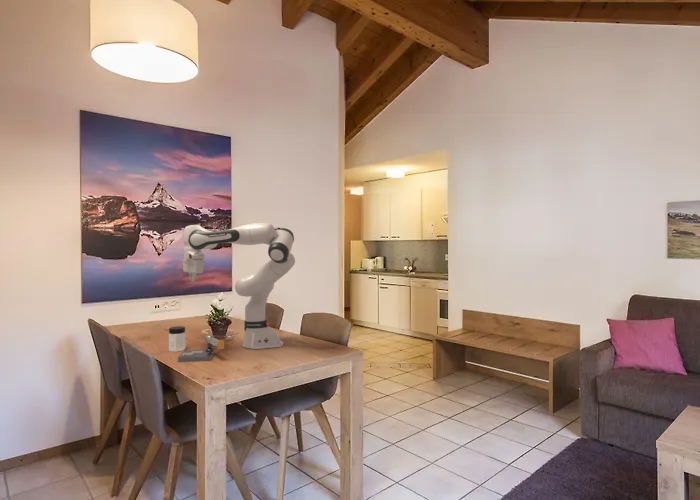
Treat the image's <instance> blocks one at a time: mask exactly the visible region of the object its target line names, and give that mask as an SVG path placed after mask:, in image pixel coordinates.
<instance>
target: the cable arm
mask: <svg viewBox="0 0 700 500" xmlns="http://www.w3.org/2000/svg"><path fill="white" fill-rule="evenodd" d="M207 343H210V344H212V346H214V347H215V348H216V349H217V350H223V349H225V340H219V339H217V338H215V337H214V336H213V335H212V334H208V335H206V344H207Z"/></svg>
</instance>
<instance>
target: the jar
mask: <svg viewBox="0 0 700 500" xmlns="http://www.w3.org/2000/svg"><path fill="white" fill-rule="evenodd" d="M186 339H187V337H186V327H185V326H183V325H182V326H180V325H179V326H177V325H176V326H170V327H169V328H168V352H174V353H177V352H183V351H184V350H187V349H186V348H187V347H186V346H187V344H186V342H187V341H186Z"/></svg>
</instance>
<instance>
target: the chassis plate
mask: <svg viewBox="0 0 700 500" xmlns="http://www.w3.org/2000/svg"><path fill="white" fill-rule="evenodd" d="M206 344H207V348H205V349H188V350H187V349H185V350H184V351H182V352H181V353H180V355H179V356H178V358H177V362H178V363H182V362H184V363H185V362H204V361H206V362H207V361H212V359H213V356H214V354H215V348H214V347H213V345H212V344H210V343H207V342H206Z"/></svg>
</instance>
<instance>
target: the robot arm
mask: <svg viewBox="0 0 700 500" xmlns="http://www.w3.org/2000/svg"><path fill="white" fill-rule="evenodd" d="M294 241H295V237H294V232H293V231H292V230H290V229H288V228H284V227H279V226H278V227H274V225H273V224H271V223H270V222H253V223H248V224H243V225H239V226H236V227H233V228H229V229H225V230H224V229H223V230H218V231H217V230H216V231H212V230H209V229H206V228H204V227H202V225H200V224H198V223H197V224H189V225H185V228H184V229H183V243H184V246H183V261H182V262H183V263H182V271H183V272H184V273H188V275H189V280H190V282H196V279H197V278H196V277H197V274H203V273H204V267H205V266H204V263H205V262H204V260H205V254H204V253H203V252H202V250H211V249H214V248H216V247H217V246H218V244H236V245H244V246H255V245H261V244H262V245H263V244H265V245H268V249H267V250H268V251H267V255H268V256H269V257H268V258H270V259H269V261H267V262H266V263H264V264H263V266H261V267H260V268H258V269H256V270H254V271H252V272H251V273H248V274H247V275H245V276H243V277H241V278H238V279H237V280H236V281H235V284H234V291H235V292H236V294H237V295H238V296H240V297H246V298H248V297H249V298H250V299H249V301H248V303H246V305H245V307H244V322H243V327H244V328H243V329H244V336H243V343H242V347H243V348H246V349H250V350H251V349H252V350H261V349H272V348H273V349H274V348H281V347H283V346H284V341H283V340H281V339H280V335H279V334H278V332H277V331H276V330H274V329H273V328H272V327H270V324H271V323H270V321H269V320H268V319H266V306H267V301H268V298H269V296H270V294H271V292H272V291H273V289H274V287H275V283H277V281H279V280H280V279H281V278H282V277H283V276H285V275H286V274H287V273H288V272H289V271H290V270H291V269H292V268H293V267H294V266H295V263H296V258H295V256H294V255H293V253H292V252H291V251H292V248H293V243H294Z"/></svg>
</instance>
